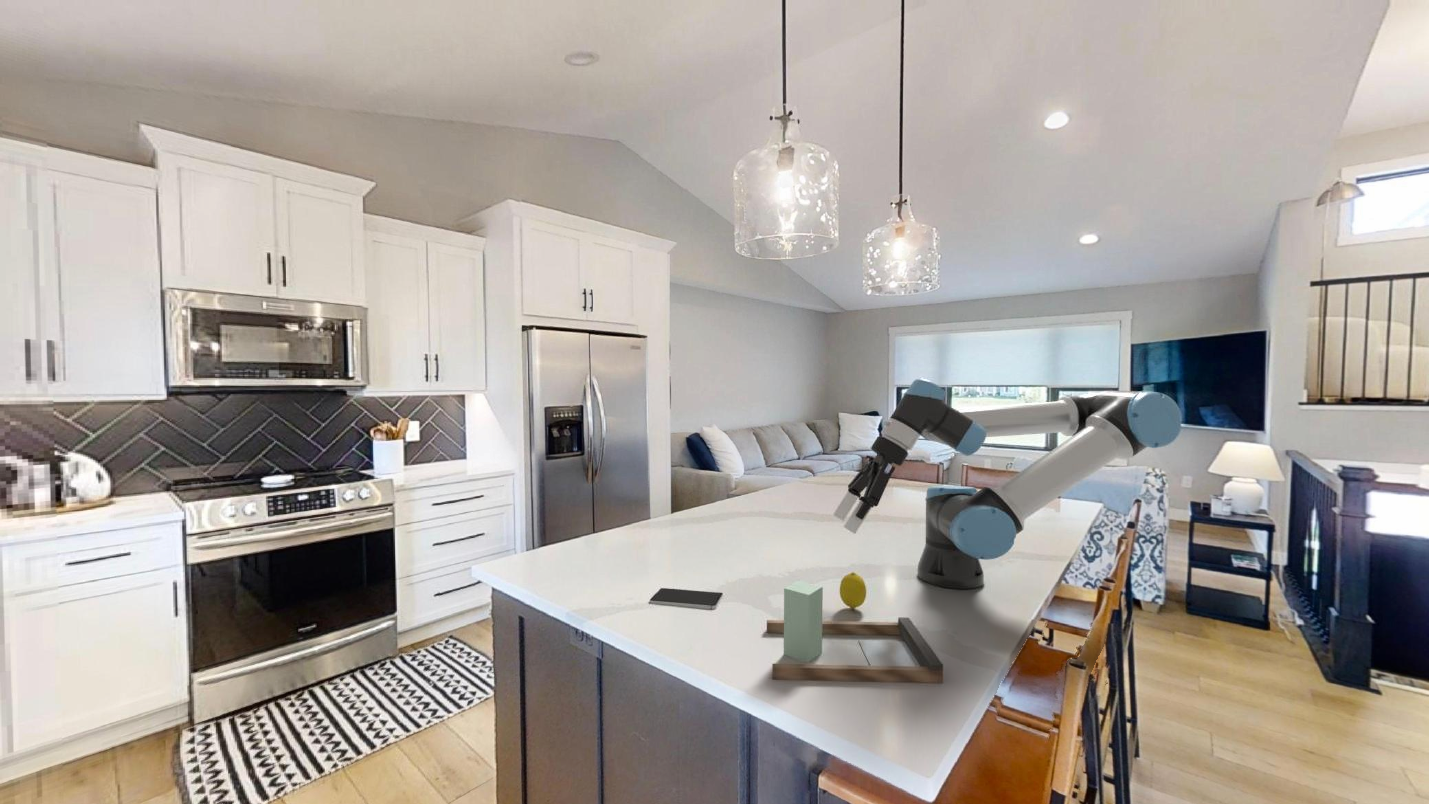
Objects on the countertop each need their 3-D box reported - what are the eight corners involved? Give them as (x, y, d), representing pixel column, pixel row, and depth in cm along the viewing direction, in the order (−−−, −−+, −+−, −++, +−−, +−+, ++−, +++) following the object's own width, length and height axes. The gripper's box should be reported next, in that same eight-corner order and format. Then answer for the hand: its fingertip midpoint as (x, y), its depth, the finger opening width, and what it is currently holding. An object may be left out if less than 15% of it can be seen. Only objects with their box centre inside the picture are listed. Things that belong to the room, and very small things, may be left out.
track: (908, 632, 110) (908, 617, 110) (942, 682, 92) (943, 664, 92) (766, 630, 111) (766, 615, 111) (772, 679, 93) (772, 661, 93)
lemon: (851, 616, 117) (851, 578, 117) (834, 607, 122) (834, 570, 122) (871, 611, 120) (872, 574, 120) (853, 602, 125) (854, 566, 125)
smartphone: (660, 587, 132) (723, 592, 129) (660, 592, 132) (723, 597, 129) (648, 600, 124) (715, 606, 121) (649, 605, 124) (715, 611, 121)
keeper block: (797, 644, 105) (798, 580, 105) (822, 652, 102) (822, 586, 102) (783, 654, 101) (784, 588, 101) (808, 663, 98) (809, 594, 98)
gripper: (867, 431, 138) (820, 505, 138) (895, 436, 113) (838, 526, 114) (893, 448, 138) (847, 521, 138) (927, 457, 113) (870, 546, 113)
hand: (843, 523), depth 126 cm, fingers open, 13 cm apart
